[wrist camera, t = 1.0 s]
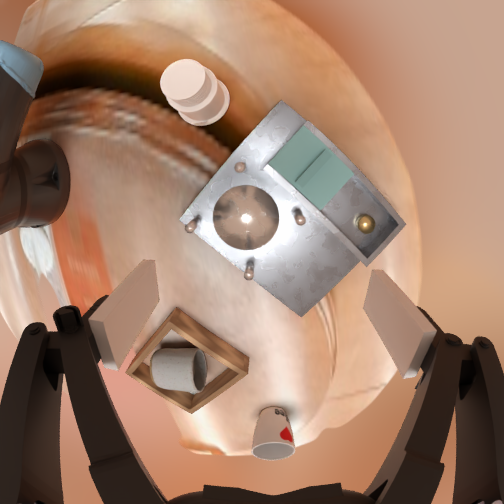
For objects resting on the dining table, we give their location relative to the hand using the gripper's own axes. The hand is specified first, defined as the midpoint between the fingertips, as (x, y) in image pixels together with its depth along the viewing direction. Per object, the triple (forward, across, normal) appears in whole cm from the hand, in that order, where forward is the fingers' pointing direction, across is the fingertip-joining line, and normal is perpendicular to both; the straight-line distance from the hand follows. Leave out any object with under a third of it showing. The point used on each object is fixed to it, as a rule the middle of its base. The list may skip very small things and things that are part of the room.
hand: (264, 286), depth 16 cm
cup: (+21, +5, -41) cm, 47 cm away
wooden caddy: (+22, -12, -27) cm, 36 cm away
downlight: (+22, -8, +15) cm, 28 cm away
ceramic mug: (+22, -12, -27) cm, 37 cm away
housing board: (+22, +4, 0) cm, 22 cm away
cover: (+18, +6, +6) cm, 20 cm away
